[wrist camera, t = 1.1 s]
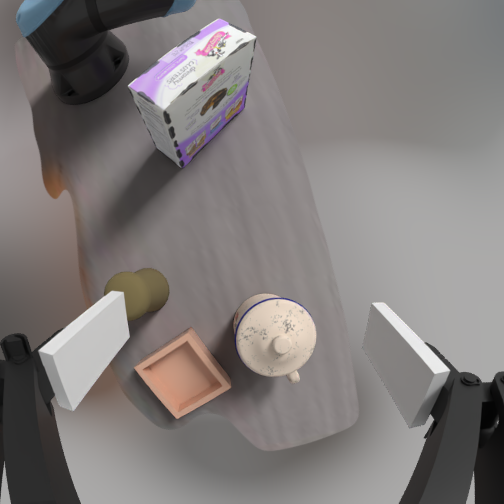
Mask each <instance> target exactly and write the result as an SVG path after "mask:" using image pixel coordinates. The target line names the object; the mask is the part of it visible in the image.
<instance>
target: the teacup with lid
mask: <svg viewBox="0 0 504 504" xmlns="http://www.w3.org/2000/svg"><path fill="white" fill-rule="evenodd" d="M233 328H234V334H235V347H236V351H237V354H238V356H239V358H240V359H241V361H242V362H243V363H244V364H245V366H247V367H248V368H249V369H250V370H252V371H253V372H255V373H257V374H260V375H263V376H269V377H279V376H284V375H286V376H287V378H288V380H289V381H290V383H292V384H295V383H297V382H299V380H300V377H299V375H298V372H297V370H298V369H299V368H300V367H302V366H303V365H304V364H305V363H306V362H307V360H308V359H309V358H310V356H311V354H312V352H313V350H314V347H315V343H316V328H315V324H314V321H313V319H312V317H311V315H310V314H309V312H308V311H307V310H306V309H305V308H304V307H303V306H302V305H300V304H299V303H297V302H295V301H293V300H290V299H287V298H281V297H279V296H276V295H273V294H258V295H255V296H253V297H250V298H249V299H247V300H246V301H245V302H243V303H242V304H241V306H240V307H239V308H238V310H237V312H236V314H235V317H234V323H233Z"/></svg>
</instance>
